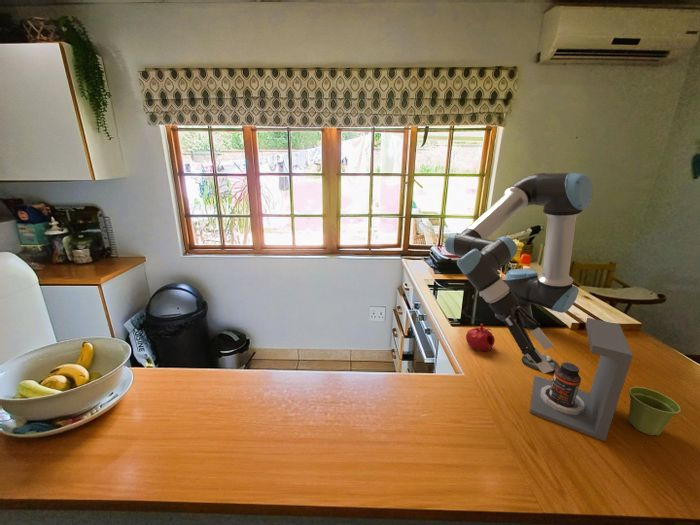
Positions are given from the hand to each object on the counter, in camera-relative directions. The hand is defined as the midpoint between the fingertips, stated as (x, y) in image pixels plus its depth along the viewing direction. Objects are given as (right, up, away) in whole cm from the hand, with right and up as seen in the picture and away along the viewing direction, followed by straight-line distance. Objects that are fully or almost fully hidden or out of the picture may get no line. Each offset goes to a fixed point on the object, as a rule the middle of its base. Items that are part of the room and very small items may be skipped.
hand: (548, 359), depth 84 cm
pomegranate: (-7, -5, +30) cm, 31 cm away
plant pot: (+21, -16, -6) cm, 27 cm away
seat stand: (+5, -13, +1) cm, 14 cm away
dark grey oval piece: (+10, -9, +20) cm, 24 cm away
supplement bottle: (+4, -12, +1) cm, 13 cm away
